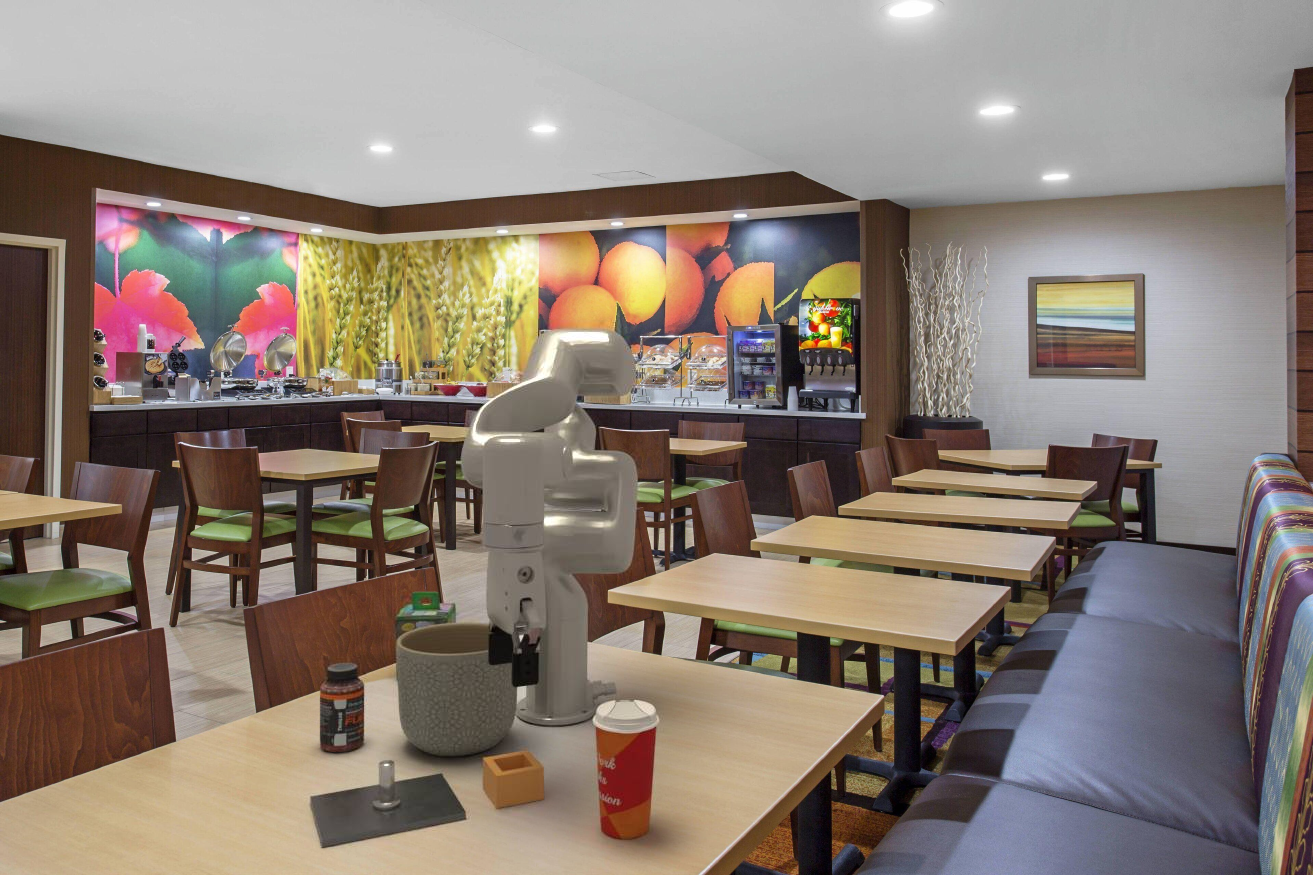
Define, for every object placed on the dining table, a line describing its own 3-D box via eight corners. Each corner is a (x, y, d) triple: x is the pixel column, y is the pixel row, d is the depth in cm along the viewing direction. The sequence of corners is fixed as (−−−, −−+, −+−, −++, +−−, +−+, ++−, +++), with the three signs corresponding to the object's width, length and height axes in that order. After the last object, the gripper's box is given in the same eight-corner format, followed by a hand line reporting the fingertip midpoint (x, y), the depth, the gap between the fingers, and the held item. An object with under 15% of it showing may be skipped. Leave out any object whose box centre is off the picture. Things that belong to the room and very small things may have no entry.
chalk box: (457, 665, 168) (457, 584, 167) (448, 681, 159) (448, 596, 158) (406, 665, 167) (405, 584, 166) (394, 681, 158) (394, 596, 157)
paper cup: (591, 813, 110) (592, 698, 109) (655, 811, 111) (656, 696, 110) (592, 845, 102) (593, 722, 102) (661, 843, 103) (662, 720, 102)
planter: (464, 777, 120) (464, 661, 119) (370, 751, 128) (370, 642, 127) (542, 735, 134) (542, 631, 134) (453, 714, 143) (453, 616, 142)
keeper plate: (441, 779, 119) (441, 735, 119) (465, 818, 108) (465, 770, 108) (310, 802, 112) (309, 756, 112) (322, 847, 101) (321, 795, 101)
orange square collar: (528, 780, 119) (528, 749, 119) (543, 798, 114) (544, 767, 113) (482, 788, 116) (482, 757, 116) (496, 808, 111) (496, 775, 111)
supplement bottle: (350, 755, 126) (350, 674, 126) (311, 751, 127) (310, 671, 127) (372, 739, 132) (372, 661, 132) (334, 735, 133) (334, 658, 133)
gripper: (567, 544, 107) (566, 690, 108) (520, 525, 123) (519, 653, 123) (504, 548, 104) (503, 698, 104) (465, 528, 119) (464, 659, 120)
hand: (512, 673), depth 114 cm, fingers open, 9 cm apart
